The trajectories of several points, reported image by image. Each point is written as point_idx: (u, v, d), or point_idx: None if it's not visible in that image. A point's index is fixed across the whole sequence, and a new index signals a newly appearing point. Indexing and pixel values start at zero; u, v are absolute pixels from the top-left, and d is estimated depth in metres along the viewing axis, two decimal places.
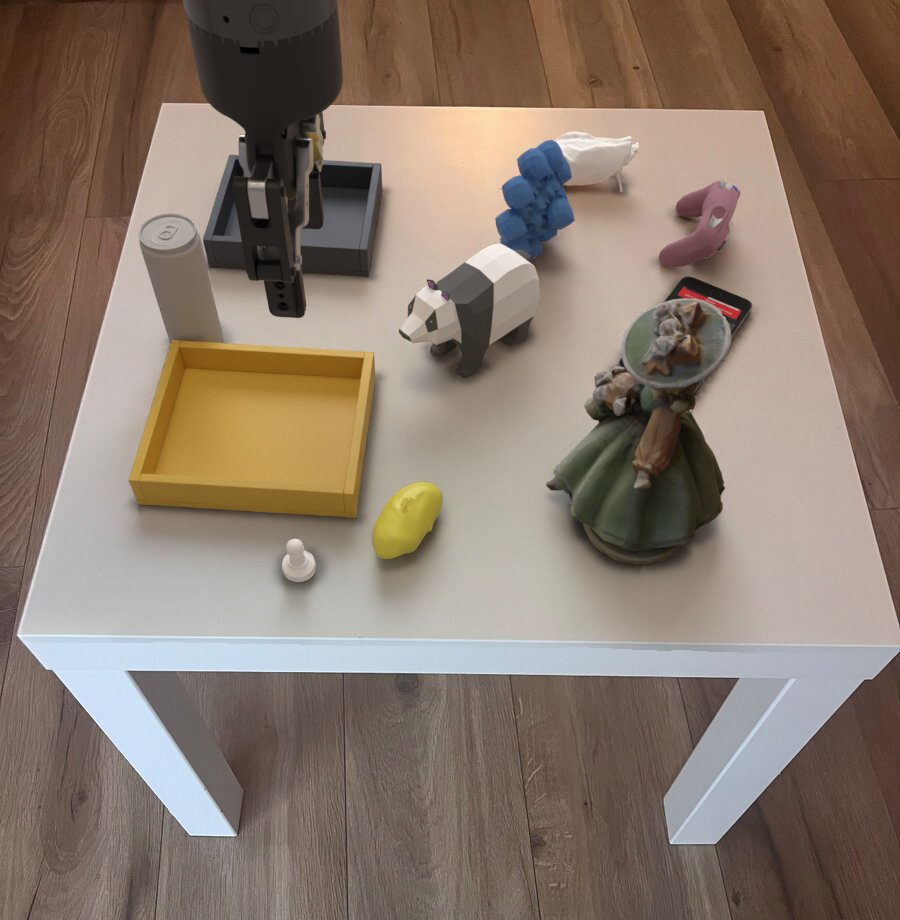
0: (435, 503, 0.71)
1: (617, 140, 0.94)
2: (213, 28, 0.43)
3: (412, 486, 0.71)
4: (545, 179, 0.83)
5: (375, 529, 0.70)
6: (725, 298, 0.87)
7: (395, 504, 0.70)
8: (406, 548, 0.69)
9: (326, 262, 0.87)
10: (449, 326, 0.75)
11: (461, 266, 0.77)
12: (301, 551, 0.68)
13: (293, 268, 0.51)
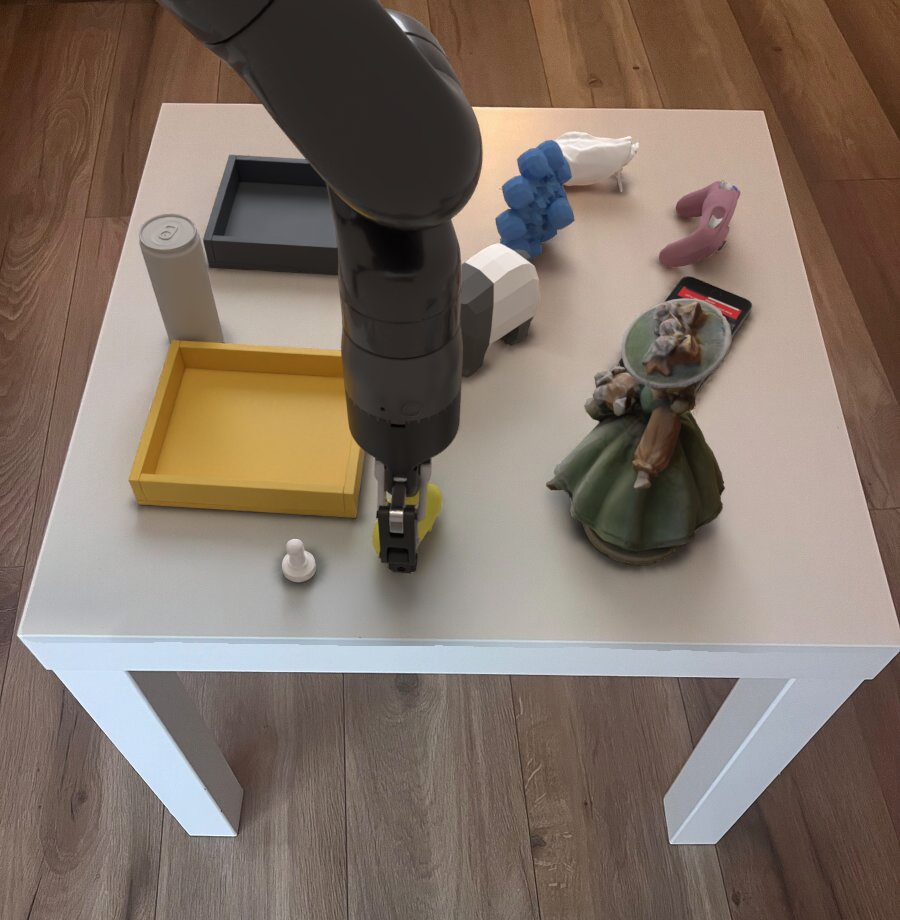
0: (435, 504, 0.71)
1: (617, 140, 0.94)
2: (371, 411, 0.56)
3: None
4: (545, 179, 0.83)
5: (375, 529, 0.70)
6: (725, 298, 0.87)
7: None
8: None
9: (326, 262, 0.87)
10: None
11: None
12: (301, 551, 0.68)
13: (416, 555, 0.64)
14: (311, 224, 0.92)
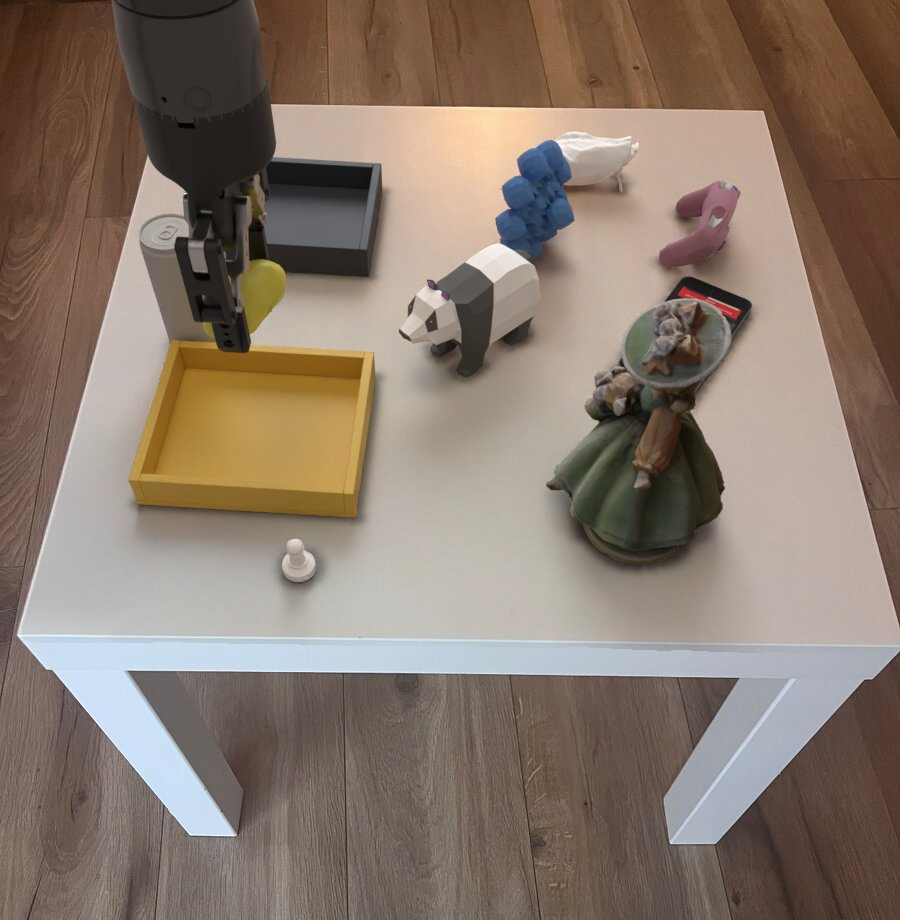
0: (274, 280, 0.63)
1: (617, 140, 0.94)
2: (153, 106, 0.49)
3: (250, 261, 0.63)
4: (545, 179, 0.83)
5: None
6: (725, 298, 0.87)
7: None
8: None
9: (326, 262, 0.87)
10: (449, 326, 0.75)
11: (461, 266, 0.77)
12: (301, 551, 0.68)
13: (234, 312, 0.57)
14: (311, 224, 0.92)
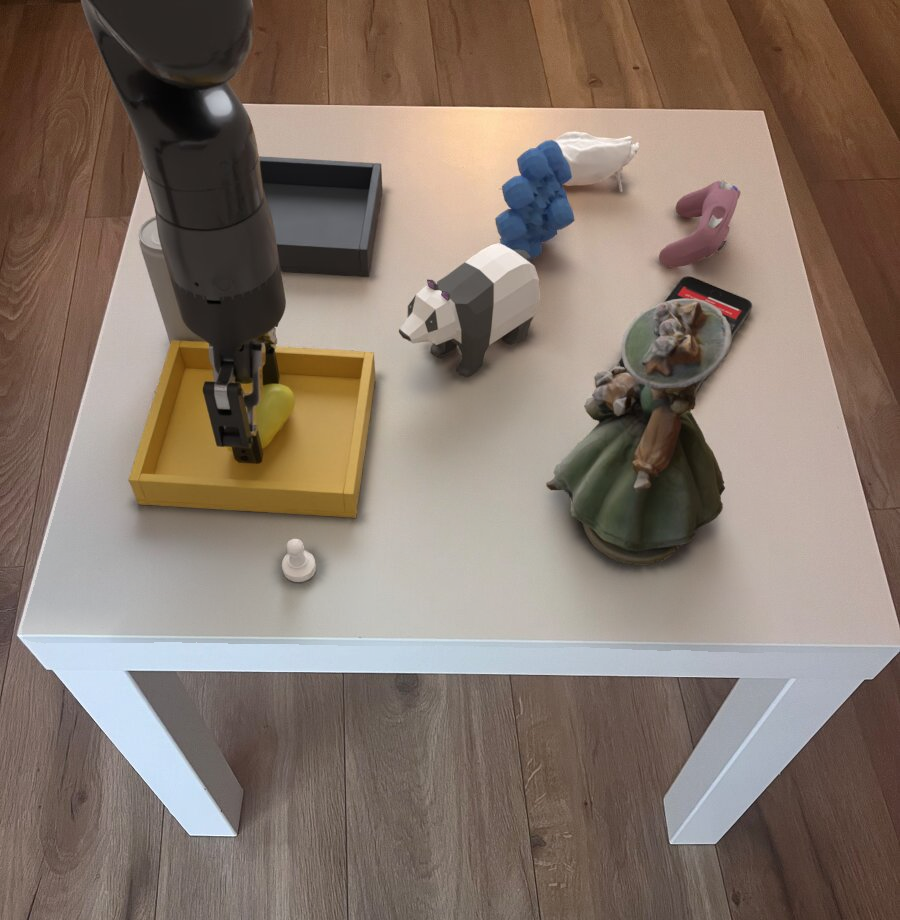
0: (284, 403, 0.75)
1: (617, 140, 0.94)
2: (187, 287, 0.60)
3: (264, 386, 0.75)
4: (545, 179, 0.83)
5: None
6: (725, 298, 0.87)
7: None
8: None
9: (326, 262, 0.87)
10: (449, 326, 0.75)
11: (461, 266, 0.77)
12: (301, 551, 0.68)
13: (250, 438, 0.68)
14: (311, 224, 0.92)
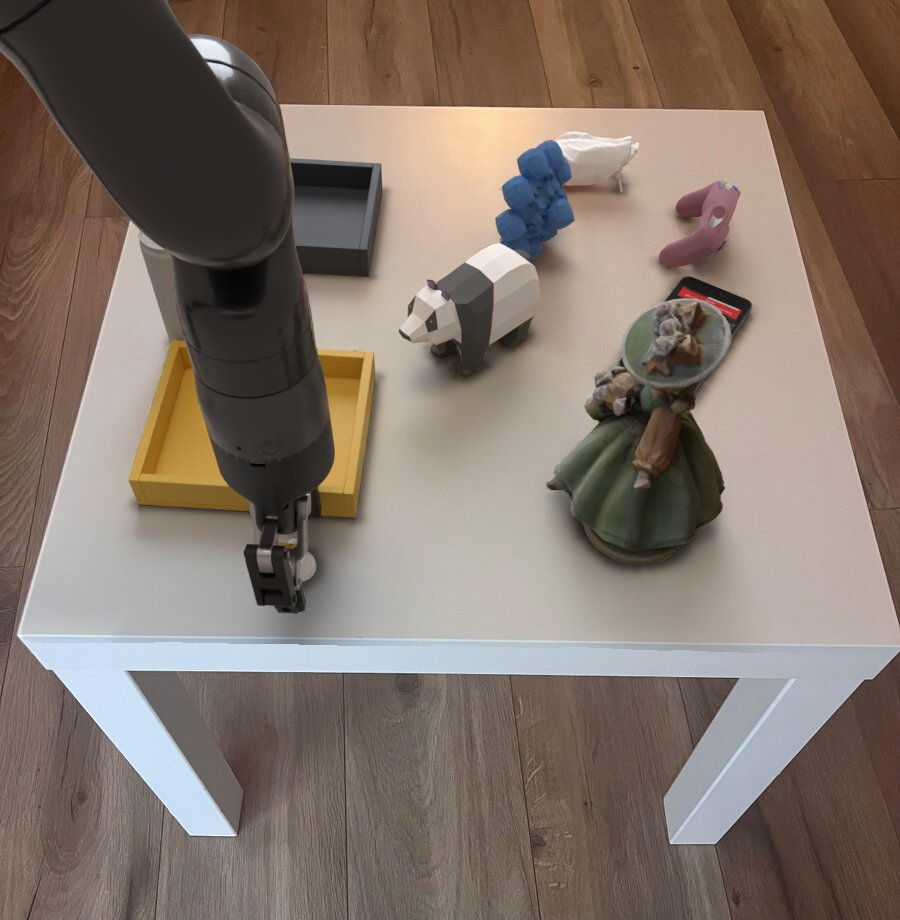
0: None
1: (617, 140, 0.94)
2: (229, 450, 0.54)
3: None
4: (545, 179, 0.83)
5: None
6: (725, 298, 0.87)
7: None
8: None
9: (326, 262, 0.87)
10: (449, 326, 0.75)
11: (461, 266, 0.77)
12: None
13: (294, 597, 0.61)
14: (311, 224, 0.92)
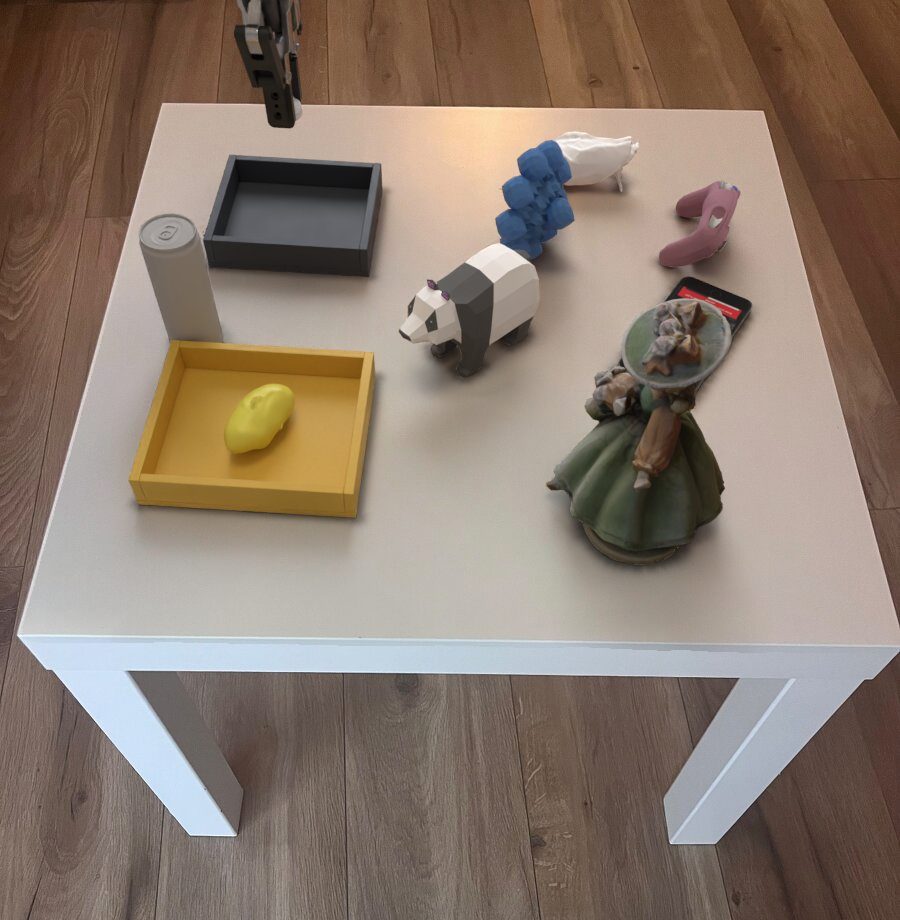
0: (285, 403, 0.75)
1: (617, 140, 0.94)
2: None
3: (264, 386, 0.75)
4: (545, 179, 0.83)
5: (226, 425, 0.74)
6: (725, 298, 0.87)
7: (245, 401, 0.74)
8: (254, 443, 0.74)
9: (326, 262, 0.87)
10: (449, 326, 0.75)
11: (461, 266, 0.77)
12: None
13: (284, 78, 0.69)
14: (311, 224, 0.92)
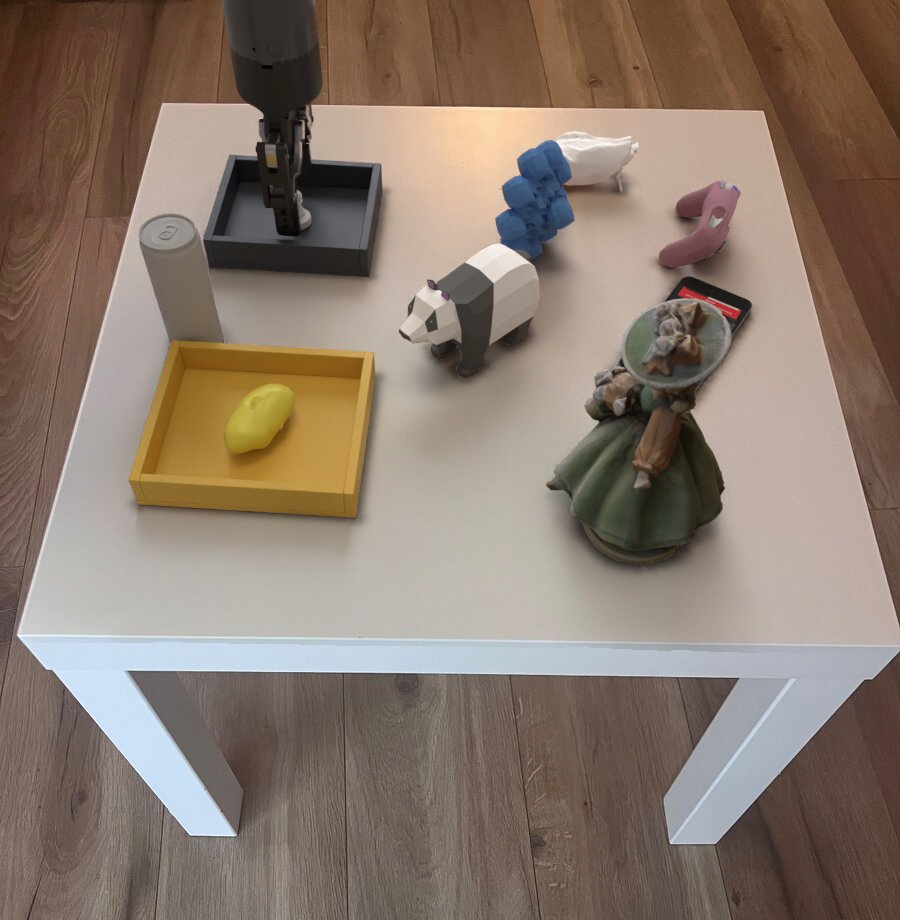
0: (285, 403, 0.75)
1: (617, 140, 0.94)
2: (246, 54, 0.75)
3: (264, 386, 0.75)
4: (545, 179, 0.83)
5: (226, 425, 0.74)
6: (725, 298, 0.87)
7: (245, 401, 0.74)
8: (254, 443, 0.74)
9: (326, 262, 0.87)
10: (449, 326, 0.75)
11: (461, 266, 0.77)
12: (300, 199, 0.89)
13: (292, 200, 0.82)
14: (311, 224, 0.92)
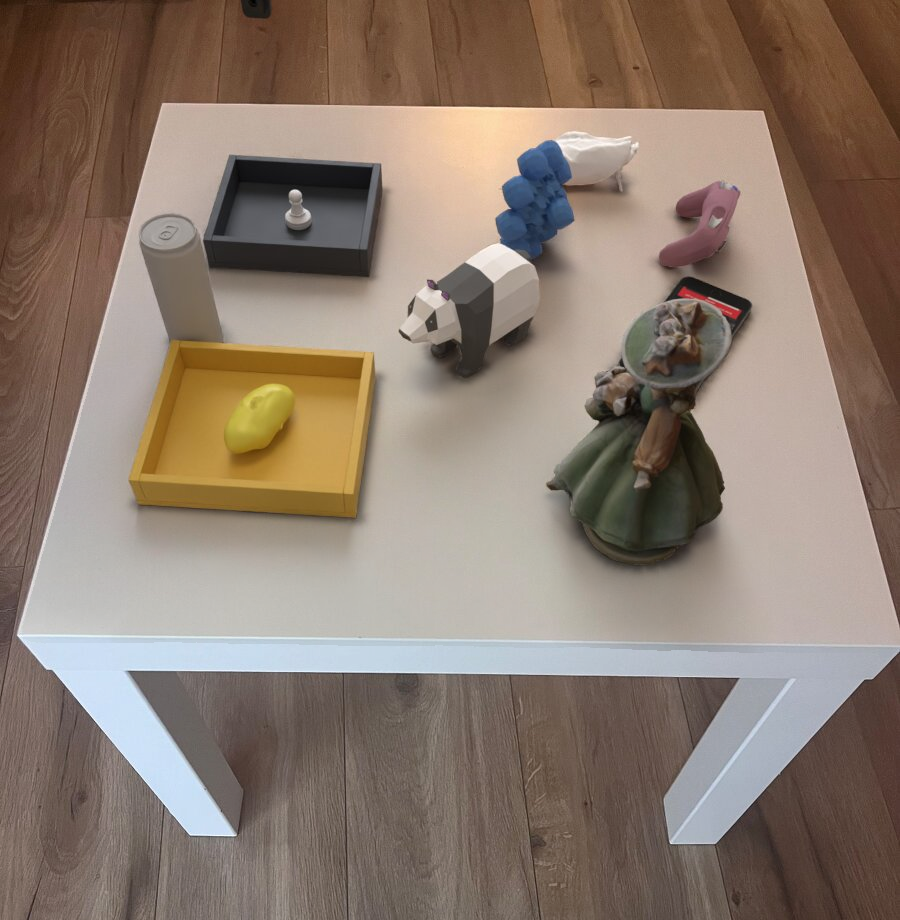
0: (285, 403, 0.75)
1: (617, 140, 0.94)
2: None
3: (264, 386, 0.75)
4: (545, 179, 0.83)
5: (226, 425, 0.74)
6: (725, 298, 0.87)
7: (245, 401, 0.74)
8: (254, 443, 0.74)
9: (326, 262, 0.87)
10: (449, 326, 0.75)
11: (461, 266, 0.77)
12: (300, 199, 0.89)
13: None
14: (311, 224, 0.92)
